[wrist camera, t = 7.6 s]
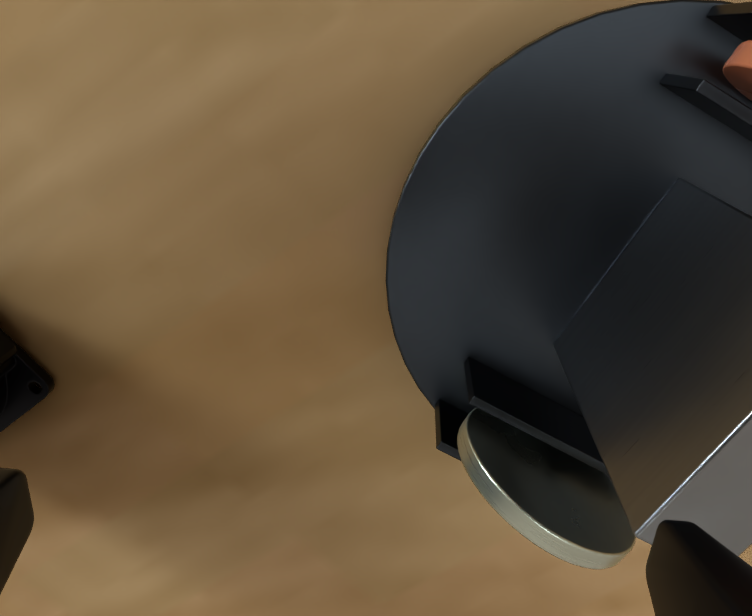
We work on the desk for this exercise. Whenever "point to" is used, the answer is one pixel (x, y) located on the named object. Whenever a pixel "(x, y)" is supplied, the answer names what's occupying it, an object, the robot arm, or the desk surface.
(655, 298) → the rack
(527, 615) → the desk surface
